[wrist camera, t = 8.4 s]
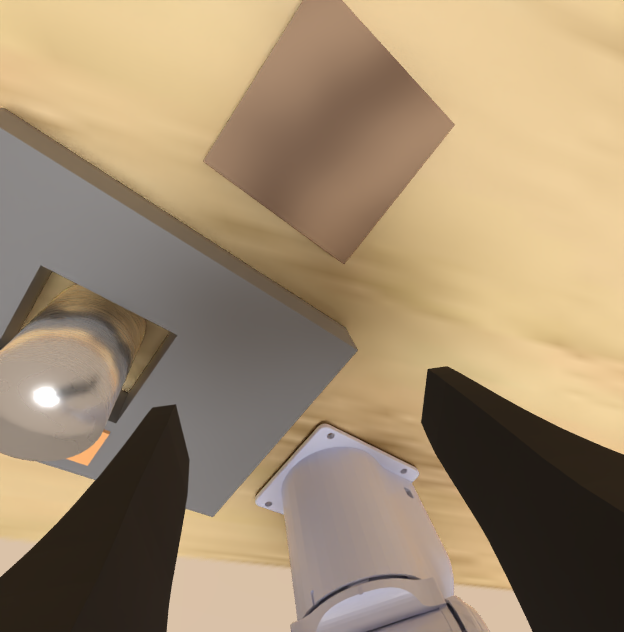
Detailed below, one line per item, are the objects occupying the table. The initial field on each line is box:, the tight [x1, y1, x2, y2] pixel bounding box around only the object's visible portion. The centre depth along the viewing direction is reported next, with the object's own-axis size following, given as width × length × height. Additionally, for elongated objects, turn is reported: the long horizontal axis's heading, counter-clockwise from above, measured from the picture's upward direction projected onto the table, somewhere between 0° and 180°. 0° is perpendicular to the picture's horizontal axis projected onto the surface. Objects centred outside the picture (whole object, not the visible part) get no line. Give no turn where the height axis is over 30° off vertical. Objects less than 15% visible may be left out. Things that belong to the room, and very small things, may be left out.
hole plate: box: [0, 108, 358, 517], centre depth 19 cm, size 18×14×3 cm
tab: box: [203, 0, 455, 264], centre depth 17 cm, size 8×8×1 cm
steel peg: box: [0, 284, 146, 461], centre depth 16 cm, size 4×4×7 cm
